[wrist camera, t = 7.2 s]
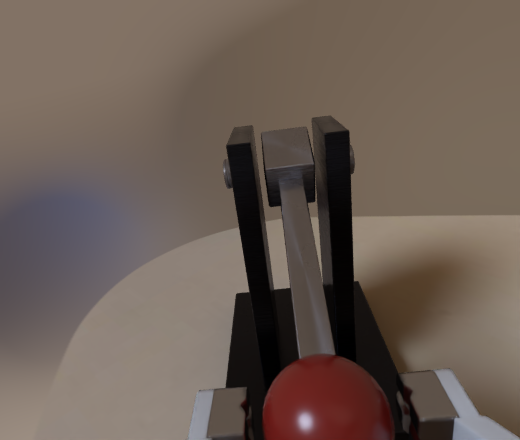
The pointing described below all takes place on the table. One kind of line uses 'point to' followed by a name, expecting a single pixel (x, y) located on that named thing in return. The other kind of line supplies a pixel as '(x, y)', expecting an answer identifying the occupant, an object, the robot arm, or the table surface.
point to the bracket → (280, 300)
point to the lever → (313, 321)
